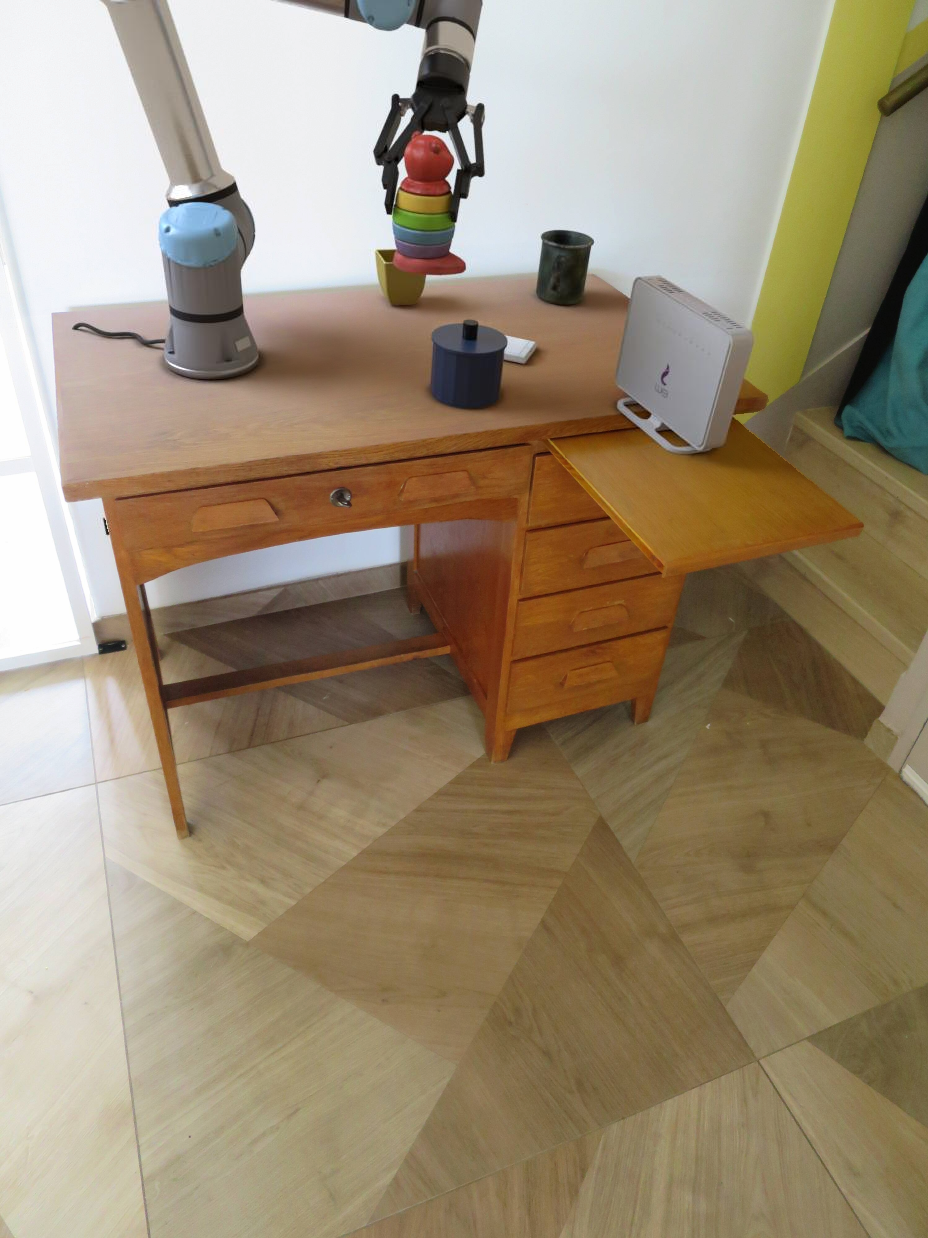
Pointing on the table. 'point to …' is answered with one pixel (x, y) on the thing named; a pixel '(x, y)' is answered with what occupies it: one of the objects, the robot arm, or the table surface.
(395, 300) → the flower pot
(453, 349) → the pot lid
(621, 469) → the table surface
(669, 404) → the network device
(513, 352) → the hard drive
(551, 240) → the mug
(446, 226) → the stacking bear
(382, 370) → the table surface
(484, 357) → the pot
